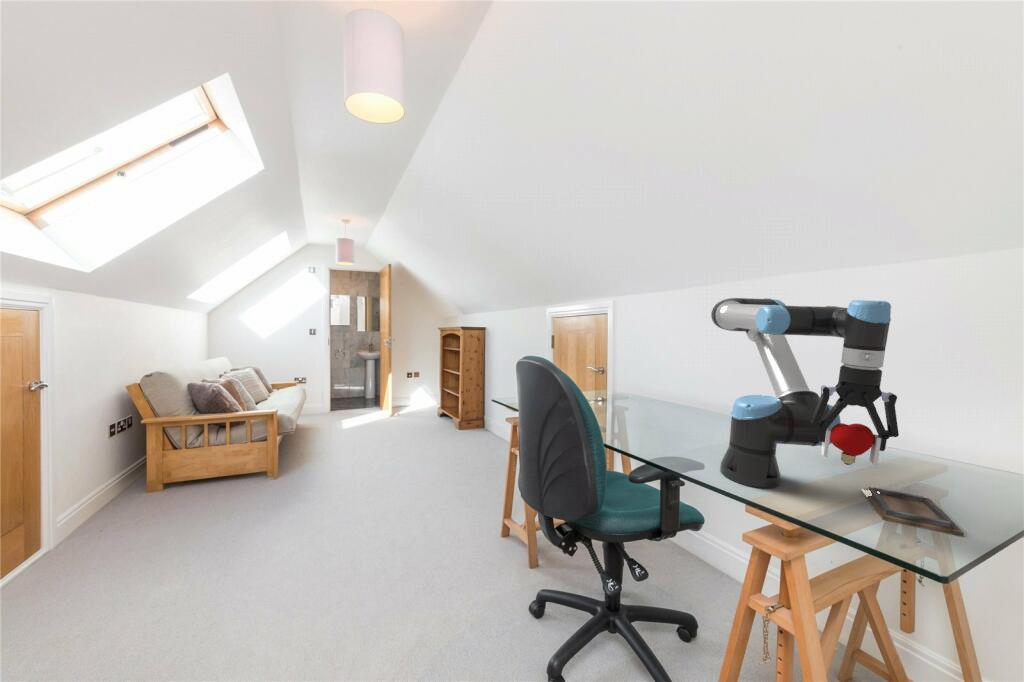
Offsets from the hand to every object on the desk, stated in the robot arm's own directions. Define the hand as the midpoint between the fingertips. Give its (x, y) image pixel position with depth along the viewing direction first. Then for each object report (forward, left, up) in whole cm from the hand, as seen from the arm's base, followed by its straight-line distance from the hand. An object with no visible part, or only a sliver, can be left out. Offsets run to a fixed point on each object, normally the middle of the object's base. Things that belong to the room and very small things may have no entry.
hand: (848, 458), depth 98 cm
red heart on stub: (0, 0, -2) cm, 2 cm away
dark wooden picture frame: (+15, +9, -14) cm, 22 cm away
